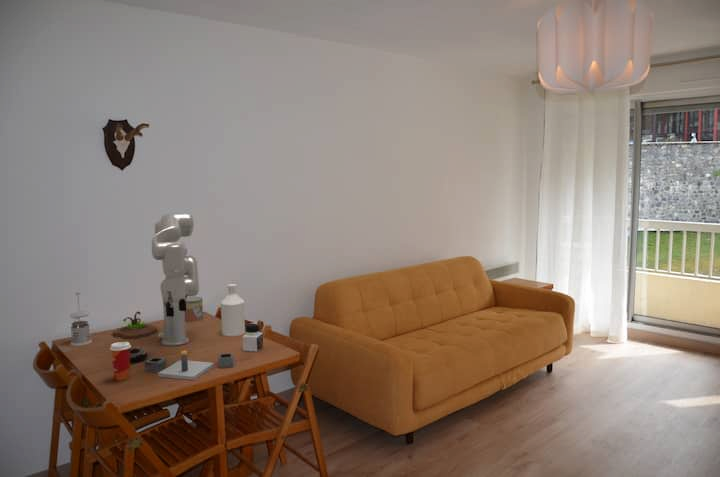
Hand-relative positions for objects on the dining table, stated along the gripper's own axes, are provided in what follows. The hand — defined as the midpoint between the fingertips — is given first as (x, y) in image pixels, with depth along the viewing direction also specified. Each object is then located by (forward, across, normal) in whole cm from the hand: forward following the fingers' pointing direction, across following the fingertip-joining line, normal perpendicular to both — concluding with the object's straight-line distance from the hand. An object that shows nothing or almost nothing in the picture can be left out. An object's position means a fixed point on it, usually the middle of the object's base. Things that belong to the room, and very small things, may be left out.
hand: (176, 313), depth 229 cm
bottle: (+22, -49, +2) cm, 54 cm away
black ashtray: (+23, -3, -24) cm, 33 cm away
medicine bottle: (+23, -27, +22) cm, 42 cm away
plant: (+22, -38, -46) cm, 64 cm away
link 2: (+23, -5, +19) cm, 30 cm away
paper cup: (+23, +18, -15) cm, 32 cm away
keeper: (+23, +6, +7) cm, 24 cm away
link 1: (+23, +6, -7) cm, 24 cm away
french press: (+22, -19, -64) cm, 70 cm away
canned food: (+22, -67, -31) cm, 77 cm away
